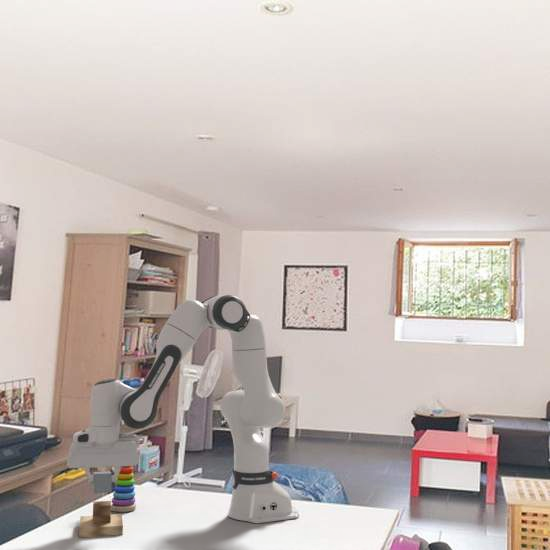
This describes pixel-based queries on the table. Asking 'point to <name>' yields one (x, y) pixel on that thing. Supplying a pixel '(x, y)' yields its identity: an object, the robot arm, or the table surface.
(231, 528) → the table surface
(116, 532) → the base board
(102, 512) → the walnut block
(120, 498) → the stacking toy
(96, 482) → the slate block
